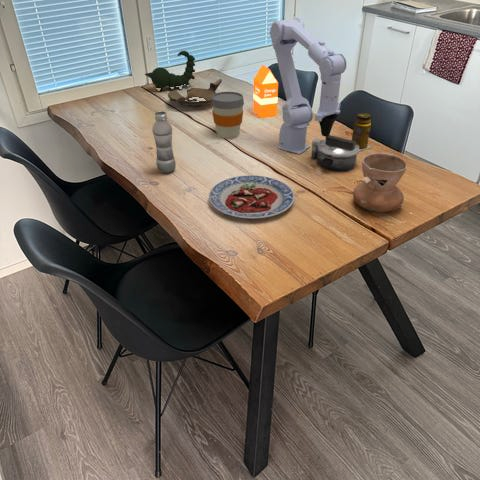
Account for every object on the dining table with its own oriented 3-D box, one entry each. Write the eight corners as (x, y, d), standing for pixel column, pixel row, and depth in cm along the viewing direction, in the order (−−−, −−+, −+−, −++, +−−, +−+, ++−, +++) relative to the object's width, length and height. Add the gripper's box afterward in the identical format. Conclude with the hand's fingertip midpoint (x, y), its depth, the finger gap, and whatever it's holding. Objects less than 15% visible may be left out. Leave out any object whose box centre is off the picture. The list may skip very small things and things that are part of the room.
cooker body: (299, 165, 158) (300, 152, 155) (322, 148, 170) (324, 135, 167) (342, 178, 150) (344, 164, 147) (363, 158, 162) (366, 145, 159)
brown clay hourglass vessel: (377, 224, 128) (387, 179, 119) (338, 203, 137) (344, 160, 129) (416, 204, 137) (427, 160, 128) (376, 186, 146) (384, 144, 138)
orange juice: (268, 110, 204) (270, 63, 192) (277, 116, 197) (279, 68, 186) (252, 112, 202) (253, 65, 190) (260, 119, 195) (261, 70, 183)
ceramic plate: (290, 228, 127) (291, 219, 125) (200, 219, 130) (199, 210, 129) (297, 184, 147) (297, 176, 146) (219, 178, 151) (219, 170, 149)
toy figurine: (190, 87, 238) (143, 88, 228) (191, 48, 227) (141, 48, 218) (196, 92, 230) (147, 94, 221) (197, 52, 220) (146, 53, 211)
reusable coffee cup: (208, 138, 178) (206, 100, 169) (218, 126, 188) (216, 90, 179) (239, 141, 175) (238, 103, 167) (247, 129, 185) (247, 92, 176)
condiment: (372, 147, 171) (377, 116, 164) (355, 152, 167) (360, 120, 160) (358, 140, 176) (362, 110, 169) (341, 145, 172) (346, 114, 165)
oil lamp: (160, 101, 214) (158, 85, 210) (217, 92, 226) (217, 76, 221) (178, 116, 198) (176, 99, 194) (239, 105, 210) (238, 88, 205)
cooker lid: (304, 149, 156) (305, 139, 154) (322, 136, 165) (324, 126, 163) (348, 161, 148) (349, 150, 146) (365, 147, 157) (367, 136, 155)
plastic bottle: (161, 176, 152) (154, 118, 140) (154, 168, 156) (147, 111, 145) (179, 172, 154) (174, 115, 142) (172, 164, 159) (166, 108, 147)
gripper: (331, 103, 139) (326, 145, 146) (350, 91, 148) (345, 131, 156) (310, 99, 142) (307, 140, 150) (331, 87, 152) (326, 127, 159)
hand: (325, 135), depth 153 cm, fingers closed
